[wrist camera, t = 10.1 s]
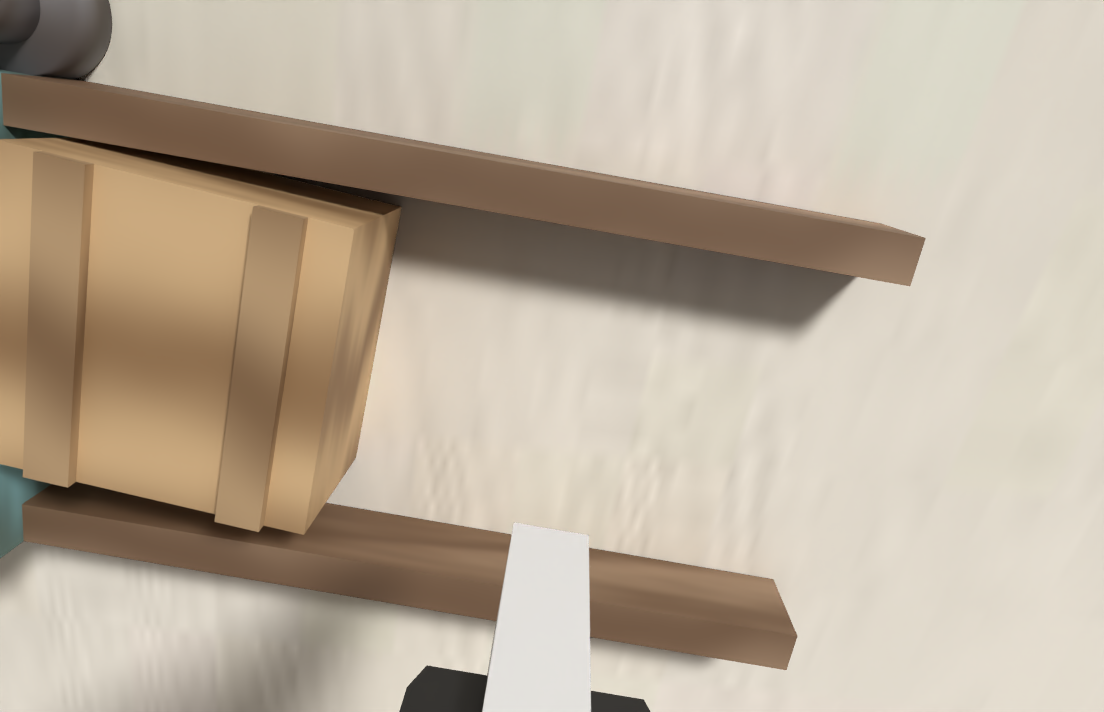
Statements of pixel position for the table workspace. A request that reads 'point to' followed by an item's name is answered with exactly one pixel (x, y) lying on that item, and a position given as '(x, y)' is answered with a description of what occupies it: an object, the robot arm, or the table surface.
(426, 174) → the bay
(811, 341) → the table surface
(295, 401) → the crate
